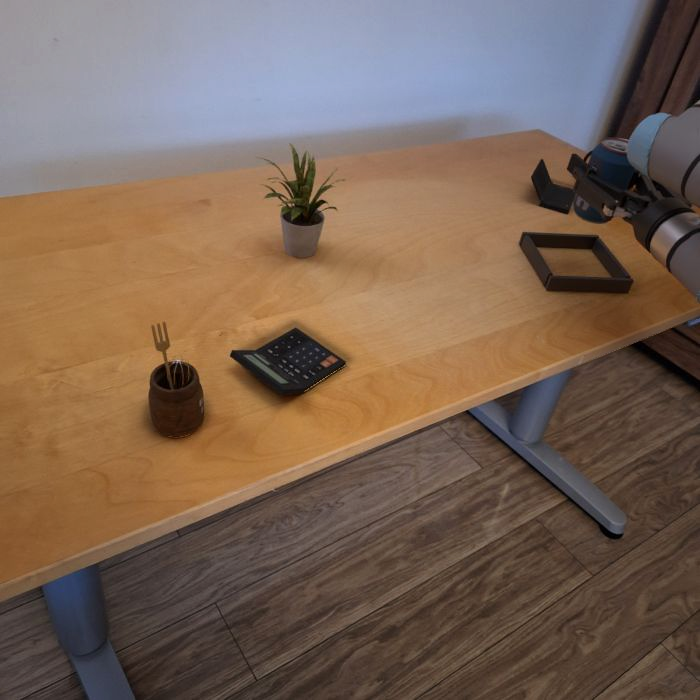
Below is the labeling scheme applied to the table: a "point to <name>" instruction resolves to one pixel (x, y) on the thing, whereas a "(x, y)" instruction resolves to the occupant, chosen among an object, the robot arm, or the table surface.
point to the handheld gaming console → (551, 191)
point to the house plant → (301, 208)
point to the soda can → (606, 174)
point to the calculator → (289, 362)
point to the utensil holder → (174, 393)
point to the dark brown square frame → (575, 283)
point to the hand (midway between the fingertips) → (592, 162)
